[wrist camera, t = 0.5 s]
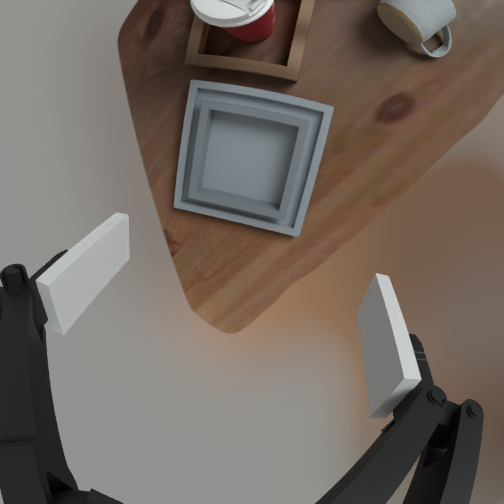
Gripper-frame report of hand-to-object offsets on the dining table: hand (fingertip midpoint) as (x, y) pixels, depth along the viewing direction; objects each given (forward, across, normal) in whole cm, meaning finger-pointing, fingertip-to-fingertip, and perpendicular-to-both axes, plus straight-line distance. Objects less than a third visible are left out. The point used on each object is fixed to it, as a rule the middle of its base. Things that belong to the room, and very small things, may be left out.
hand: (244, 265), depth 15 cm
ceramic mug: (+27, +13, +24) cm, 39 cm away
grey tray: (+26, -4, -1) cm, 27 cm away
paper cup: (+27, -7, +17) cm, 33 cm away
